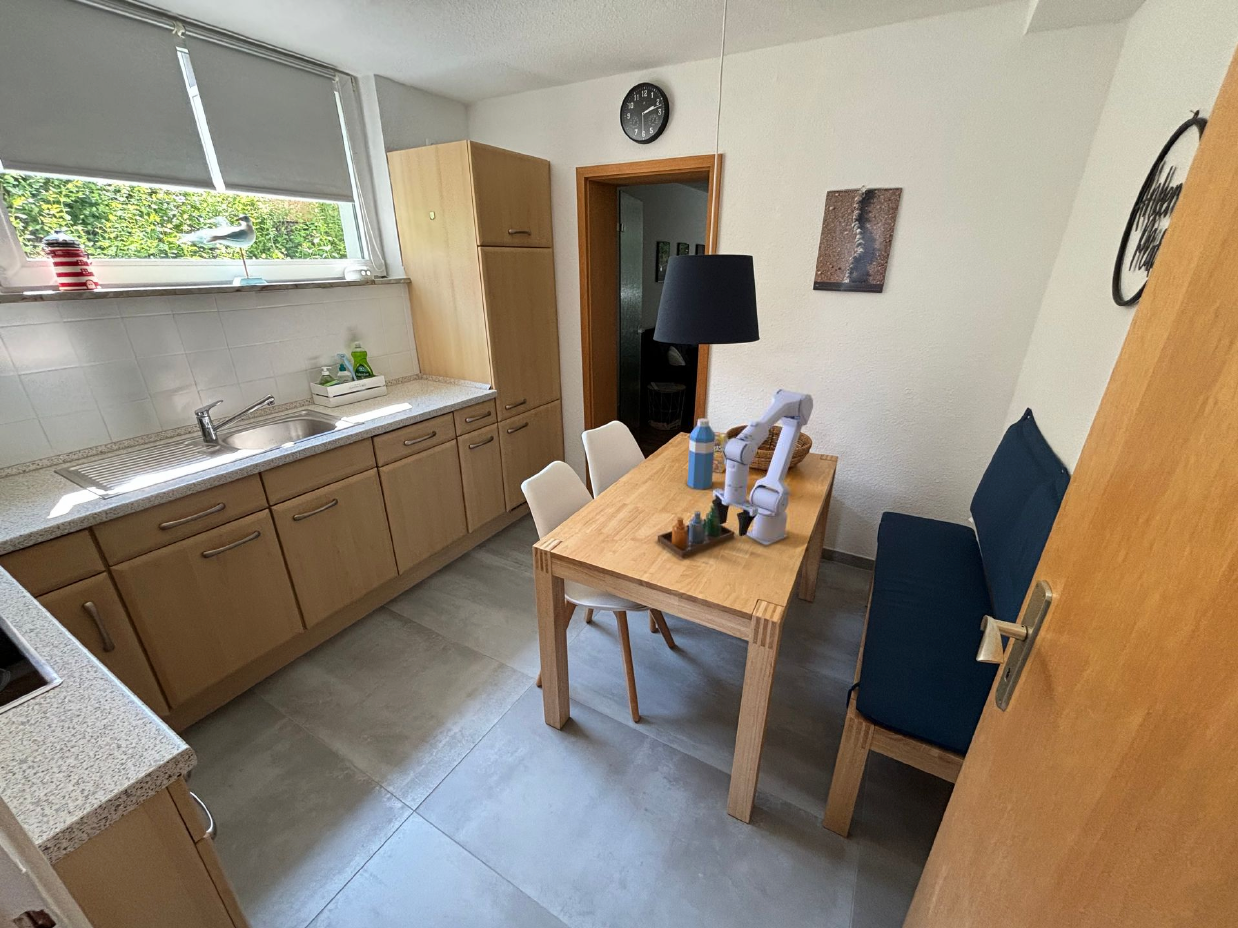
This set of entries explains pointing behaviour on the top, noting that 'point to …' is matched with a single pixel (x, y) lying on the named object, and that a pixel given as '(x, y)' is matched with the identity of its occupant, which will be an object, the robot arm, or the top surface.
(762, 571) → the top surface
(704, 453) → the water bottle
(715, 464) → the candy box
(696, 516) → the blue-grey bottle
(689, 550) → the tray
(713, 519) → the green bottle
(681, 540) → the amber bottle
